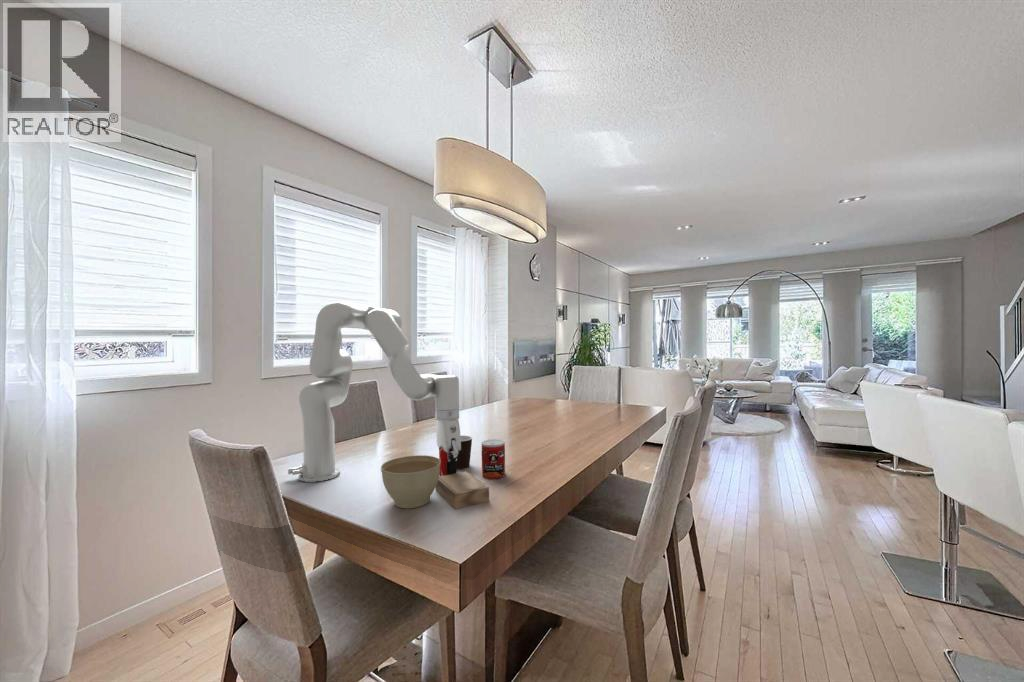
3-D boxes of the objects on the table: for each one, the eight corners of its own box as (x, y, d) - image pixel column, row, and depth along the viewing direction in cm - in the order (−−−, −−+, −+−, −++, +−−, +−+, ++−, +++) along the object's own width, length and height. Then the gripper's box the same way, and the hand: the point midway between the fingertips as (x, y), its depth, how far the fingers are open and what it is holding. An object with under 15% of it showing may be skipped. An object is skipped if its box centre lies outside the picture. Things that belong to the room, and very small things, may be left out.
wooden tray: (455, 509, 110) (455, 493, 110) (435, 490, 124) (435, 476, 124) (489, 501, 115) (488, 486, 115) (466, 484, 129) (466, 470, 129)
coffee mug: (471, 470, 142) (470, 441, 142) (446, 470, 142) (445, 441, 142) (474, 460, 154) (474, 433, 154) (451, 460, 154) (451, 433, 154)
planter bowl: (397, 490, 124) (396, 454, 124) (448, 492, 122) (448, 455, 122) (370, 512, 108) (369, 471, 108) (429, 516, 106) (428, 473, 106)
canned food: (481, 479, 132) (481, 445, 132) (482, 471, 140) (482, 439, 140) (505, 479, 133) (504, 444, 133) (505, 471, 141) (504, 438, 141)
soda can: (439, 479, 133) (439, 442, 133) (456, 478, 134) (456, 441, 134) (439, 485, 128) (438, 446, 128) (456, 484, 129) (456, 445, 129)
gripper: (469, 417, 125) (469, 476, 125) (448, 409, 140) (449, 462, 140) (445, 419, 122) (446, 481, 122) (427, 411, 137) (428, 465, 137)
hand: (448, 470), depth 131 cm, fingers closed on soda can, 5 cm apart
